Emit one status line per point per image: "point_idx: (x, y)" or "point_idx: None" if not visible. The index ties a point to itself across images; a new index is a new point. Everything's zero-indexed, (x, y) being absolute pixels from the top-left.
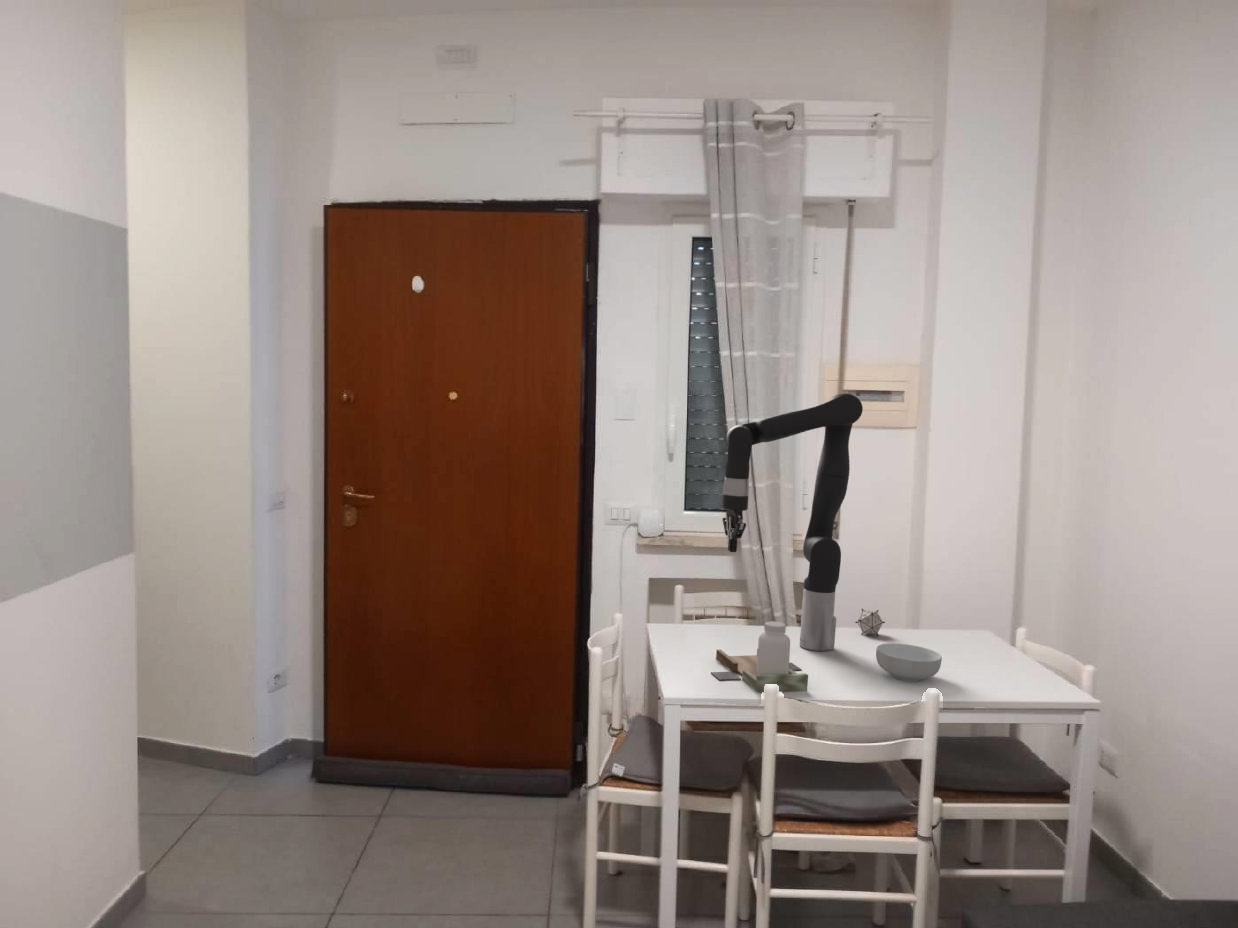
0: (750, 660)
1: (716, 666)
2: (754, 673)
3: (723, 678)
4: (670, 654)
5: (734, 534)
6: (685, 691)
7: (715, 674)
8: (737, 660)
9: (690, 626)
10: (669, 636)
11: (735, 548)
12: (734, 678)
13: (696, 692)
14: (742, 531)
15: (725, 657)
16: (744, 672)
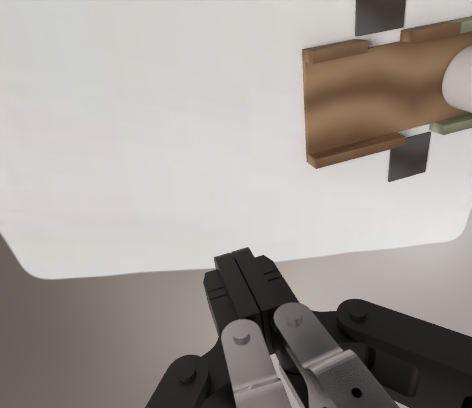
0: (341, 89)
1: (354, 166)
2: (418, 101)
3: (421, 163)
4: (278, 244)
5: (398, 369)
6: (450, 223)
7: (401, 175)
8: (338, 120)
9: (12, 199)
10: (142, 249)
11: (273, 268)
12: (426, 144)
13: (457, 208)
14: (461, 343)
15: (363, 155)
16: (449, 132)
